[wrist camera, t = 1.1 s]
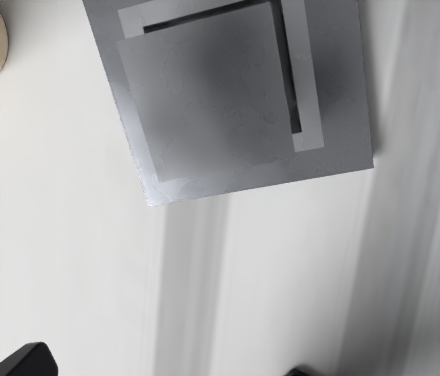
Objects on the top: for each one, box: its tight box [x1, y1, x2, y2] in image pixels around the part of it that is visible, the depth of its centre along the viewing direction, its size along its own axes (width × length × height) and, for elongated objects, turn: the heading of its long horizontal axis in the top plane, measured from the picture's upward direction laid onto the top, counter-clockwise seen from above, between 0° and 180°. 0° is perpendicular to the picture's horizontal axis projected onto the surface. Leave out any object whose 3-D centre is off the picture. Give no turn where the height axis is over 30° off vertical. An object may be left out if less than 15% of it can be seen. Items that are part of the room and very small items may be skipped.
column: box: [116, 2, 296, 183], centre depth 15 cm, size 5×5×8 cm
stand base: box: [82, 0, 374, 206], centre depth 18 cm, size 12×12×4 cm
